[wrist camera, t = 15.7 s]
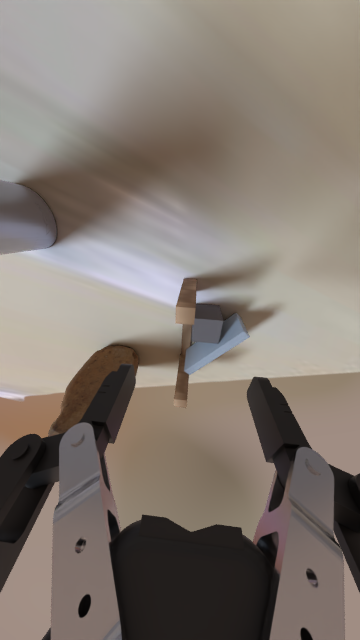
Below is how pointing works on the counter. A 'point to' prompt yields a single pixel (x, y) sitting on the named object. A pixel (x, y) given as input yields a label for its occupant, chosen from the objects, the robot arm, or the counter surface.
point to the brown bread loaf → (90, 384)
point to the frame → (185, 336)
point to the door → (207, 352)
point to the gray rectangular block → (207, 324)
